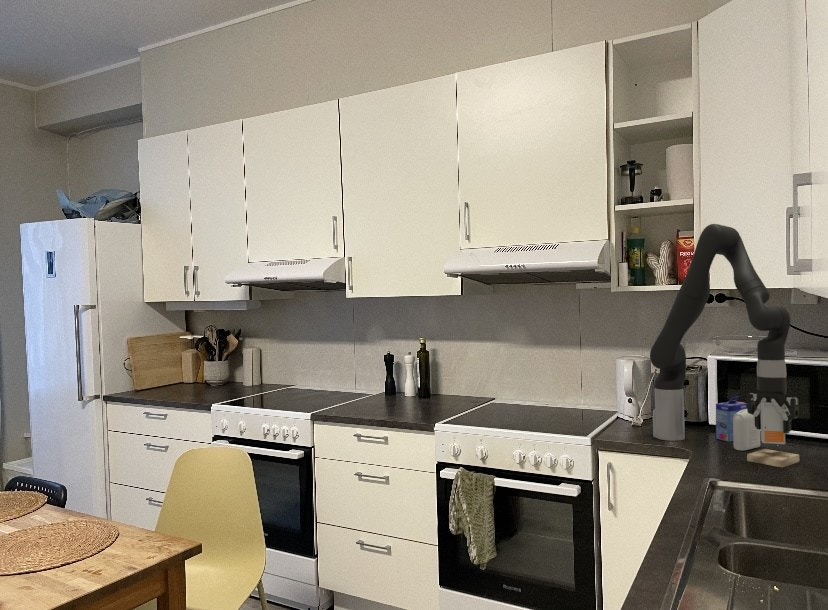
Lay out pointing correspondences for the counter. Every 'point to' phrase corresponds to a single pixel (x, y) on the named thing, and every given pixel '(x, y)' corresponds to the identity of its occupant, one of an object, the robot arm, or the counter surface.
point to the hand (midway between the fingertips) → (772, 430)
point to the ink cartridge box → (727, 418)
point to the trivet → (773, 458)
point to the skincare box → (771, 424)
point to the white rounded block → (745, 431)
